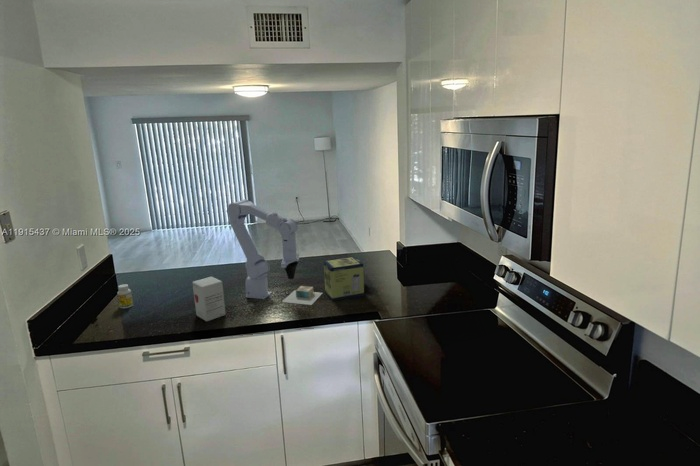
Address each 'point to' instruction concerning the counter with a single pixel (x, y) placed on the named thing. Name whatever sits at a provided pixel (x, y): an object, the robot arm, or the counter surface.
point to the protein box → (344, 278)
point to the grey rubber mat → (299, 300)
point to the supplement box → (209, 298)
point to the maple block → (304, 292)
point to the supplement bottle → (124, 296)
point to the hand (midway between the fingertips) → (291, 278)
